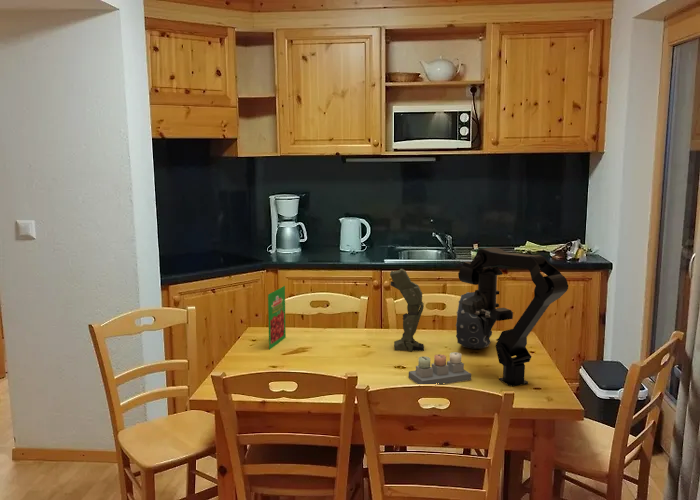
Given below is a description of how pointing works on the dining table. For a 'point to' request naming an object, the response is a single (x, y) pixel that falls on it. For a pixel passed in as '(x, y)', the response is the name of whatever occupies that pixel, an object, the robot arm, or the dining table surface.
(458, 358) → the cream key
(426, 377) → the grey button panel
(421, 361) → the sage key
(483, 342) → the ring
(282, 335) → the tomato puree packet
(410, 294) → the mechanical leg
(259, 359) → the dining table surface
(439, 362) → the terracotta key
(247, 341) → the dining table surface
